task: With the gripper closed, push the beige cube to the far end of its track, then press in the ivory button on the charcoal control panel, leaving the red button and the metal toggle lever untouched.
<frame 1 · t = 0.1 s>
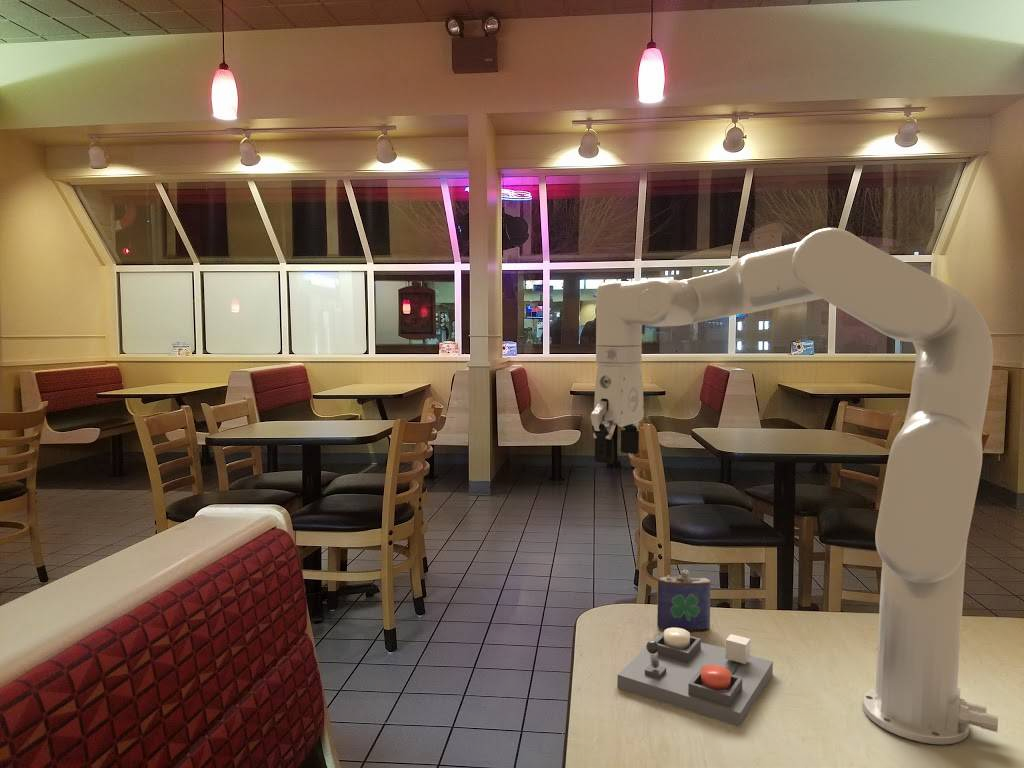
hand: (617, 457, 117), 31 cm above the table, tool pointing down, fingers open, 9 cm apart
toggle lever: (653, 650, 102), point 6 cm above the table, hinge at -20.0°
flask: (683, 629, 122), on the table
red button: (715, 677, 98), point 4 cm above the table, slide at 0.0 cm
ivory button: (676, 638, 110), point 4 cm above the table, slide at 0.0 cm
beige cube: (737, 648, 106), point 4 cm above the table, slide at 0.0 cm
panel: (696, 680, 105), on the table
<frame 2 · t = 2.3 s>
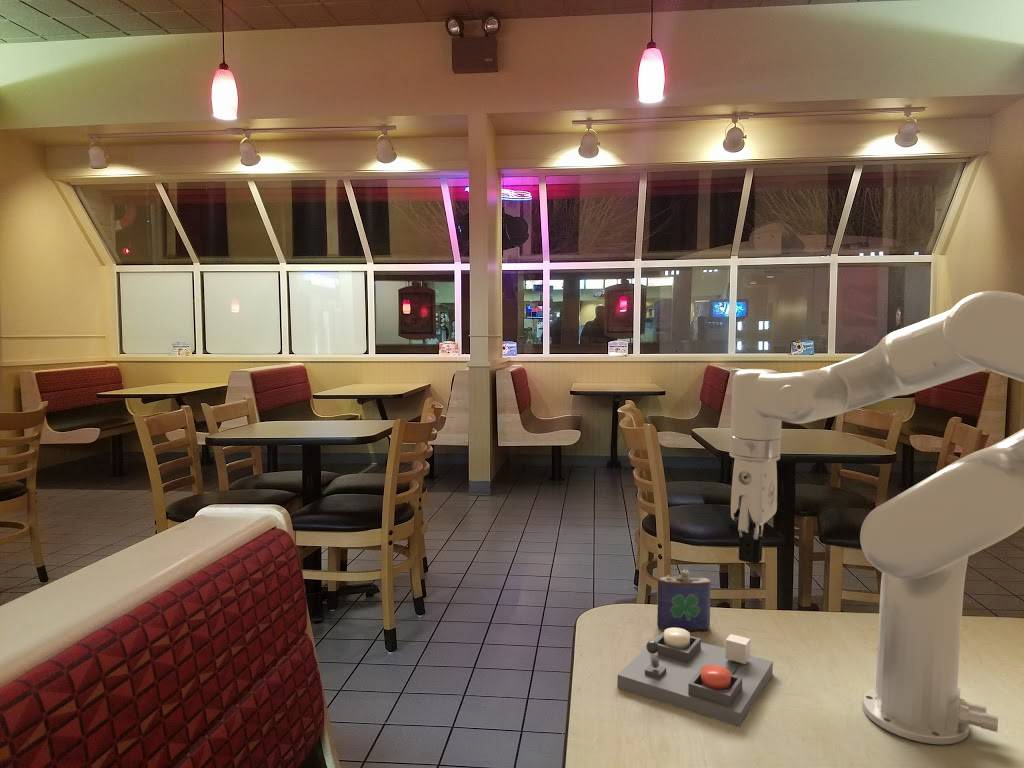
hand: (750, 560, 111), 16 cm above the table, tool pointing down, fingers closed
nothing on the table moved.
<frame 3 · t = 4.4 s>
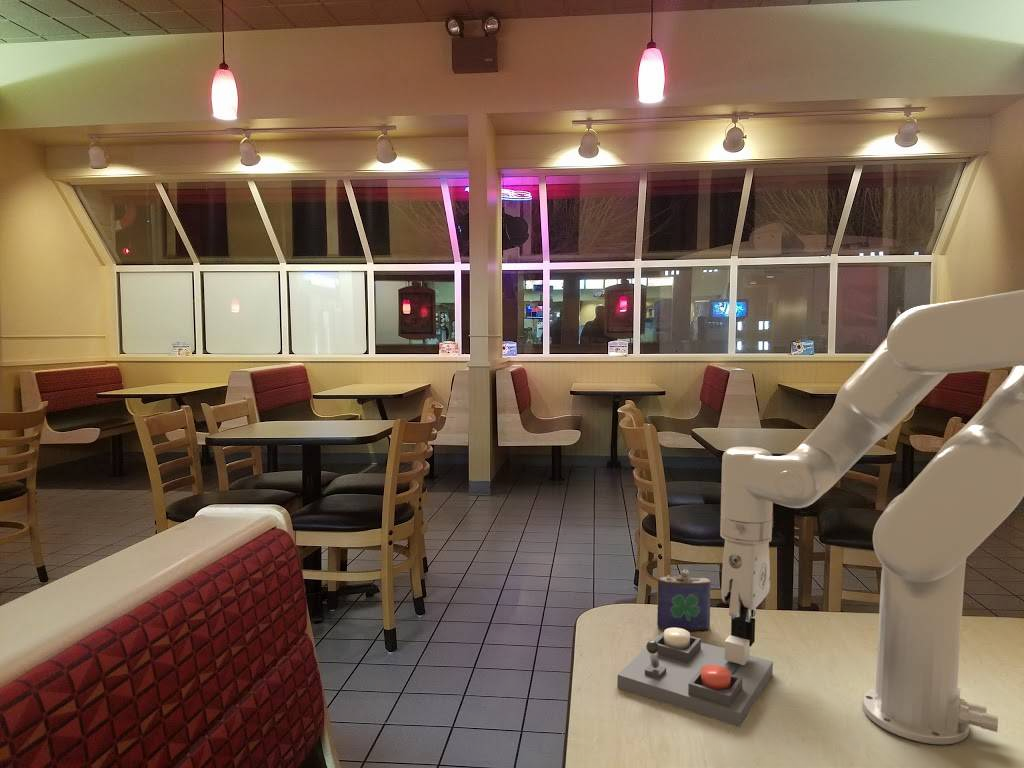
hand: (742, 642, 108), 4 cm above the table, tool pointing down, fingers closed
beige cube: (736, 650, 106), point 4 cm above the table, slide at 0.5 cm, touching gripper
everything else where it was.
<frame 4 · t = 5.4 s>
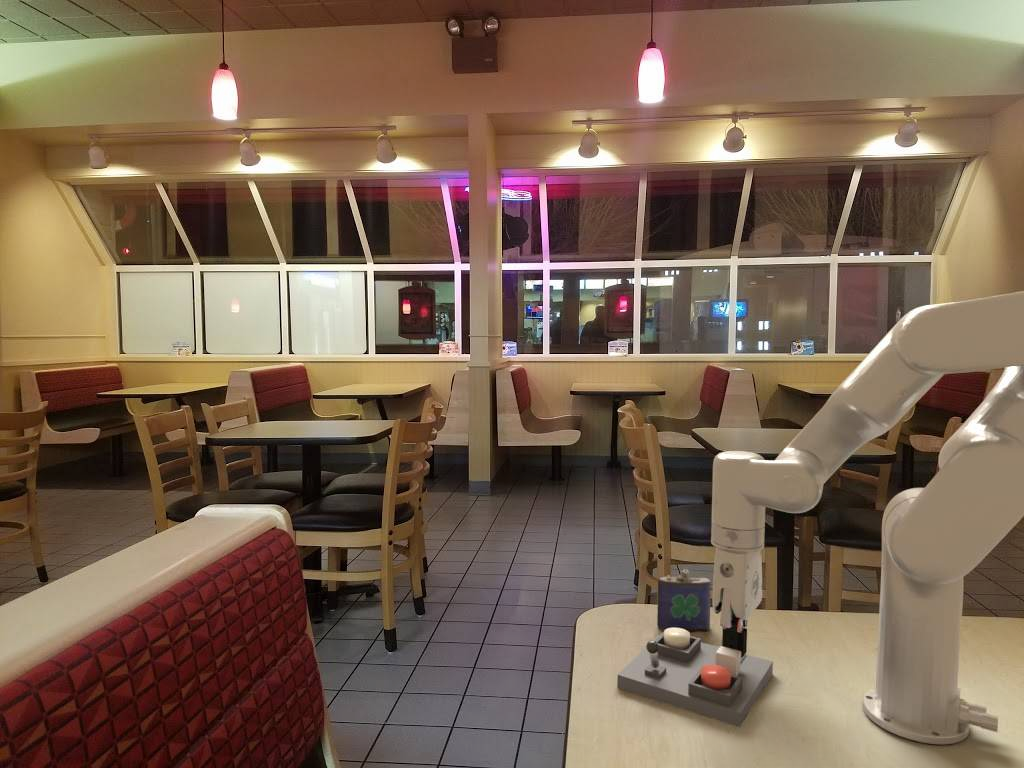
hand: (734, 653, 105), 4 cm above the table, tool pointing down, fingers closed
beige cube: (728, 661, 102), point 4 cm above the table, slide at 4.8 cm, touching gripper
everything else where it was.
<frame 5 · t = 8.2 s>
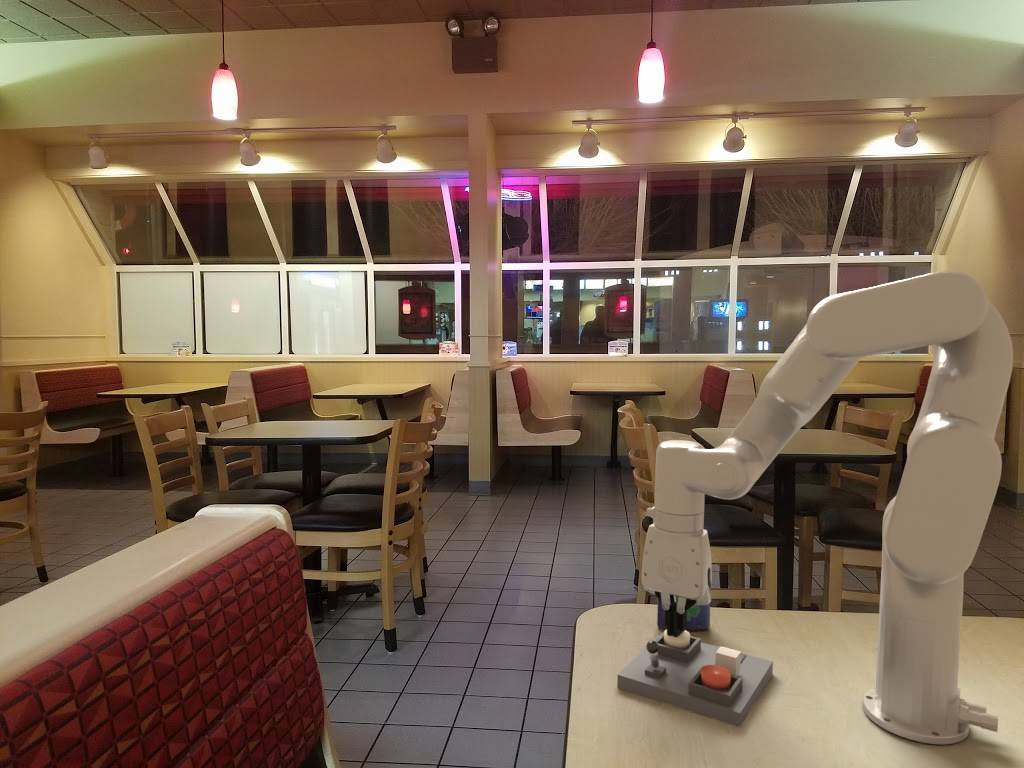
hand: (675, 632, 110), 5 cm above the table, tool pointing down, fingers closed
ivory button: (676, 638, 110), point 4 cm above the table, slide at 0.1 cm, touching gripper
beige cube: (728, 661, 102), point 4 cm above the table, slide at 4.9 cm
everything else where it was.
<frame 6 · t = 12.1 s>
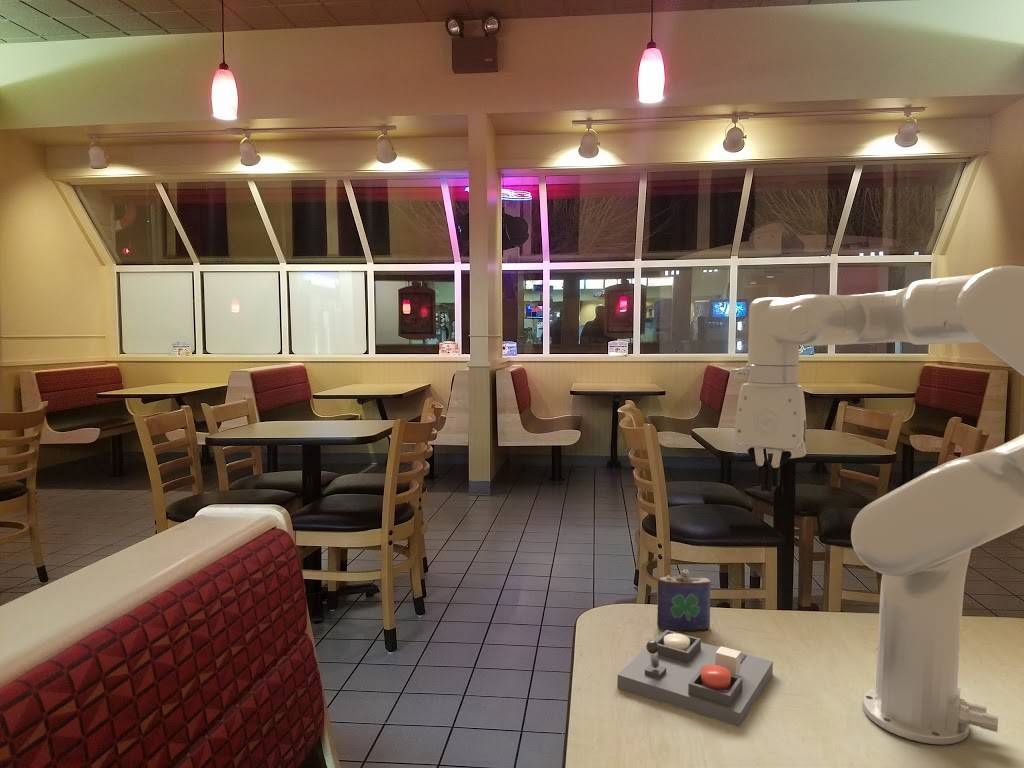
hand: (768, 489, 111), 27 cm above the table, tool pointing down, fingers closed
ivory button: (676, 644, 110), point 3 cm above the table, slide at 1.0 cm
everything else where it was.
at the end: beige cube slide at 4.9 cm; ivory button slide at 1.0 cm; red button slide at 0.0 cm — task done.
